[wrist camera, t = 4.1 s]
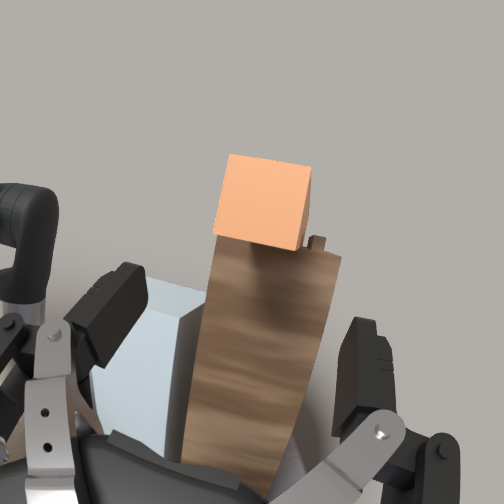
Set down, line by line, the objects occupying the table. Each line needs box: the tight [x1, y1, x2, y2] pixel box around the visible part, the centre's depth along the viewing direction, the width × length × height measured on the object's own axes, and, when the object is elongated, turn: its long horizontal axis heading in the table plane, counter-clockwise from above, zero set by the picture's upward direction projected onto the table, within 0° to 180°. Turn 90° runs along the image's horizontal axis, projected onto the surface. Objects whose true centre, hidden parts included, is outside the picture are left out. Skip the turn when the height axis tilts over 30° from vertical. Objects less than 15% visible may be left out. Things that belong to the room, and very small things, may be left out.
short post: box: [91, 277, 206, 463], centre depth 33 cm, size 12×10×24 cm
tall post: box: [181, 235, 341, 499], centre depth 31 cm, size 12×10×33 cm
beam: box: [213, 154, 311, 251], centre depth 26 cm, size 24×4×4 cm, turn 169°
